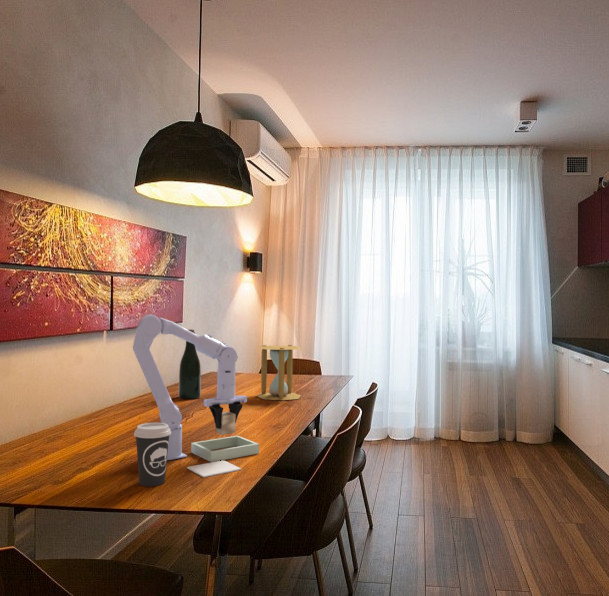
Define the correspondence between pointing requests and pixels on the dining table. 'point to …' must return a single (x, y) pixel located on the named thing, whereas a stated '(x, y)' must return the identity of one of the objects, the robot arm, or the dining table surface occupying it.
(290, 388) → the hourglass
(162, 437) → the coffee cup
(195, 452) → the pale grey-green open frame
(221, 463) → the white mat
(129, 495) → the dining table surface
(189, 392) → the dark green wine bottle
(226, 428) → the ash block
